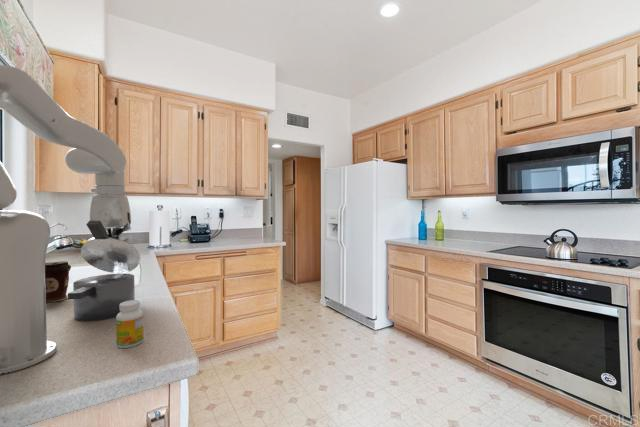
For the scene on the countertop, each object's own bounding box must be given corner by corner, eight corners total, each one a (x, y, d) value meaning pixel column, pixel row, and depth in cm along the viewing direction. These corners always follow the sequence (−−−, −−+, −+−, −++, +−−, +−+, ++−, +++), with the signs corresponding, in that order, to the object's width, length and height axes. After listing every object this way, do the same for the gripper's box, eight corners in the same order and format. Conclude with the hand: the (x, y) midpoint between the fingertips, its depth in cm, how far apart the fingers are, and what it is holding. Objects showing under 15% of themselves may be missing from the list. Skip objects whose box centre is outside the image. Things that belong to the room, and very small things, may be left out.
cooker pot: (106, 328, 77) (105, 291, 77) (43, 331, 75) (42, 293, 75) (145, 300, 100) (145, 271, 99) (97, 302, 98) (97, 273, 97)
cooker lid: (93, 273, 96) (98, 266, 99) (145, 272, 98) (148, 264, 101) (61, 224, 82) (67, 217, 85) (122, 224, 84) (126, 216, 87)
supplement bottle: (110, 347, 67) (109, 306, 67) (128, 337, 72) (128, 298, 72) (131, 349, 66) (130, 307, 66) (148, 338, 72) (148, 299, 71)
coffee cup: (54, 304, 96) (53, 265, 96) (30, 304, 96) (28, 265, 96) (77, 296, 105) (76, 260, 104) (54, 296, 105) (53, 260, 105)
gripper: (76, 191, 88) (78, 251, 89) (129, 191, 90) (131, 250, 91) (92, 191, 95) (94, 247, 96) (141, 192, 97) (143, 246, 98)
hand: (112, 249), depth 93 cm, fingers closed
